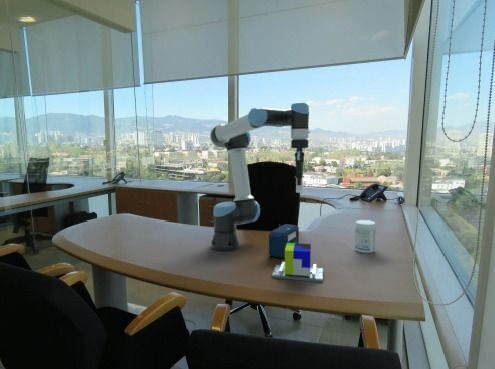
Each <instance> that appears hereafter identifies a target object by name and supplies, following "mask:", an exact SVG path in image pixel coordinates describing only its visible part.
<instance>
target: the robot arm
mask: <svg viewBox="0 0 495 369" xmlns="http://www.w3.org/2000/svg"><path fill="white" fill-rule="evenodd" d="M309 108H310V106H309V103H307V102H293V103H292V104H291V107H290V108H289V109H288V108H287V109H280V108H276V109H275V108H266V107H253V108H251V109H250V111H249V112H248V113H247V114H246V115H242V116H241V117H238V118H236V119H234V120H232V121H229V122H228V123H226V124H223V123H222V124H220V123H219V124H218V125H216V126H214V127H213V128H211V129H212V130H211V131H210V134H209V137H210V141H211V143H212V144H213V146H216V147H218V148H221V149H222V148H225V149H226V152H227V153H228V154H229V156H230V158H229V159H230V164H231V172H232V180H233V186H234V194H235V198H233V201H230V200H229V201H221V202H219V203H217V204H215V206H214V207H213V213H212V214H213V215H212V216H213V235H212V240H211V243H210V246H211V249H212V250H215V251H219V252H220V251H222V252H229V251H234V250H237V249H239V248H240V239H239V236H238V234H237V226H239V225H244V224H245V225H246V224H251V223H254V222H256V221H257V220H258V218H259V217H260V214H261V208H260V207H261V206H260V204H259V202H257V201H256V200H255V197H254V196H253V195H252V194H251V193H252V192H251V186H250V176H249V169H248V163H247V157H246V156H247V155H246V152H247V151H248V147H249V146H250V144H251V143H250V142H251V140H252V139H251V134H250V132H252V131H254V130H256V129H259V128H263V127H275V128H283V127H290V128H291V130H290V138H291V140H290V148H292V149H296V151H295V152H294V158H295V159H294V160H295V176H294V178H295V180H296V181H295V184H296V185H295V193H297V194H298V193H299V194H302V193H303V192H304V191H303V178H304V179H305V175H304V161H305V152H304V149H308V148H309V140H308V138H309V134H310V133H311V131H309V124H310V123H309V122H310V121H309V120H310V119H309V116H310V109H309Z"/></svg>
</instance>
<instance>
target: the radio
mask: <svg viewBox="0 0 495 369" xmlns="http://www.w3.org/2000/svg"><path fill="white" fill-rule="evenodd" d="M299 231H300V227H299V226H298V225H295V224H287V223H285V224H283V225H280V226H279V227H277V228H275V229H273V230H271V231H270V232H269V234H268V256H271V257H275V258H280V259H285V248H286V245H287V243H300V241H299V239H300V238H299V235H300V234H299V233H300V232H299Z"/></svg>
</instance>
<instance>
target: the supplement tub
mask: <svg viewBox="0 0 495 369" xmlns="http://www.w3.org/2000/svg"><path fill="white" fill-rule="evenodd" d="M376 227H377V226H376V222H375V221H373V220H368V219H359V220H356V221H355V227H354V228H355V229H354V231H355V232H354V249H355V251H357V252H359V253H363V254H371V253H373V252H375V250H376Z"/></svg>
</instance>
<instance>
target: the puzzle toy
mask: <svg viewBox="0 0 495 369" xmlns="http://www.w3.org/2000/svg"><path fill="white" fill-rule="evenodd" d="M311 248H312V244H311V243H301V242H299V243H287V245H286V248H285V257H284V262H285V274H288V275H301V276H310V267H311V250H312V249H311Z"/></svg>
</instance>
